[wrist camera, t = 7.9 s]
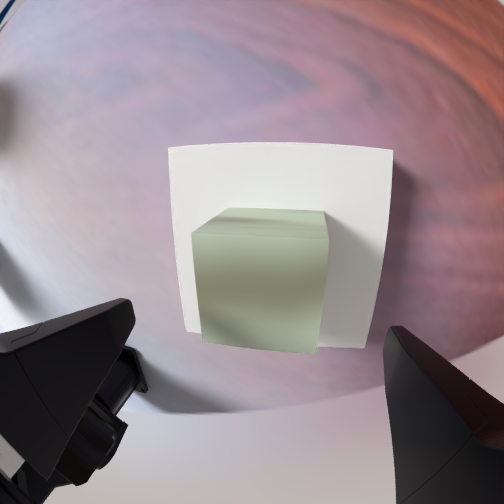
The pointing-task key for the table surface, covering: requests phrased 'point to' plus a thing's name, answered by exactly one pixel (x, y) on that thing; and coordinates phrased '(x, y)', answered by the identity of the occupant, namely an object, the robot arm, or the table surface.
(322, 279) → the sage cube
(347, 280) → the white block
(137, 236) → the table surface
